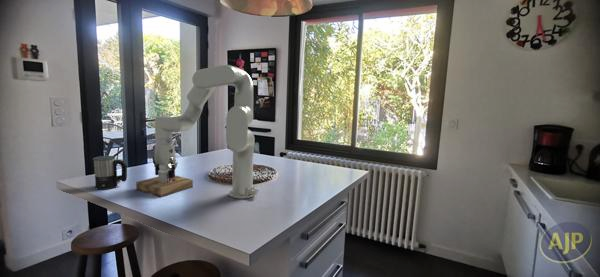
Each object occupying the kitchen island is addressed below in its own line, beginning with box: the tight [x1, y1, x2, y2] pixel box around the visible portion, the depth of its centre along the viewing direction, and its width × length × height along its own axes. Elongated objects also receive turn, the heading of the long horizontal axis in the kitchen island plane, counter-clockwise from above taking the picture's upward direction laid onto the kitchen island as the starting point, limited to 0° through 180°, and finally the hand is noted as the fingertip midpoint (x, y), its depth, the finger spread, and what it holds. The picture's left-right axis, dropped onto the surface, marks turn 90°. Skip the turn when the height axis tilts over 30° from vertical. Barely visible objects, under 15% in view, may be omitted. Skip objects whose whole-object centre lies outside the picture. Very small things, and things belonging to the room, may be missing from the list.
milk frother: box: [92, 155, 128, 190], centre depth 146 cm, size 14×16×15 cm
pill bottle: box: [157, 164, 172, 184], centre depth 143 cm, size 6×6×11 cm
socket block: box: [135, 174, 194, 198], centre depth 144 cm, size 18×18×4 cm
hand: (165, 176), depth 143 cm, fingers open, 9 cm apart
